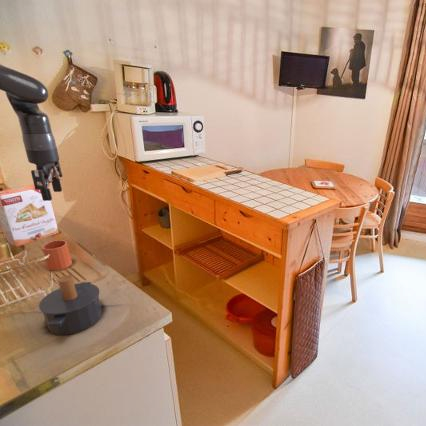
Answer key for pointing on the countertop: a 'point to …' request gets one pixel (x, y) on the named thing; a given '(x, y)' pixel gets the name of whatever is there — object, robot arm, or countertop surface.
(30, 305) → the countertop surface
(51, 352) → the countertop surface
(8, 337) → the countertop surface
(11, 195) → the cracker box
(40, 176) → the robot arm
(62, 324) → the pot
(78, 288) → the lid
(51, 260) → the cup
